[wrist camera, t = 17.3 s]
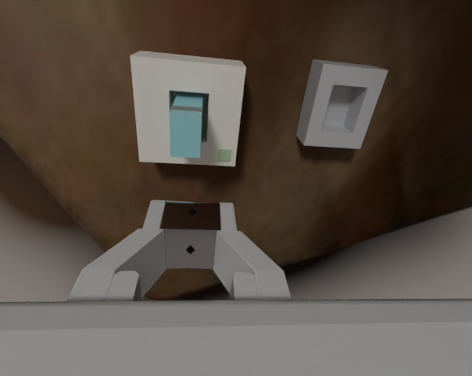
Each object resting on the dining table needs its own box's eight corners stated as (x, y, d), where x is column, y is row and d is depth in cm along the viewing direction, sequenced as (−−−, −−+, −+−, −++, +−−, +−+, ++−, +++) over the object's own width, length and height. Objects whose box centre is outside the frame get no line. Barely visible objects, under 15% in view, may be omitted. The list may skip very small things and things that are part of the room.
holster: (312, 59, 35) (323, 63, 31) (371, 65, 36) (388, 70, 33) (295, 135, 40) (303, 145, 37) (347, 138, 41) (360, 148, 38)
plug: (178, 89, 34) (168, 112, 26) (203, 91, 35) (202, 115, 26) (178, 124, 36) (169, 156, 28) (201, 126, 37) (200, 158, 28)
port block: (140, 50, 32) (129, 55, 28) (241, 60, 34) (246, 67, 30) (146, 145, 39) (139, 162, 34) (231, 150, 40) (235, 167, 36)
